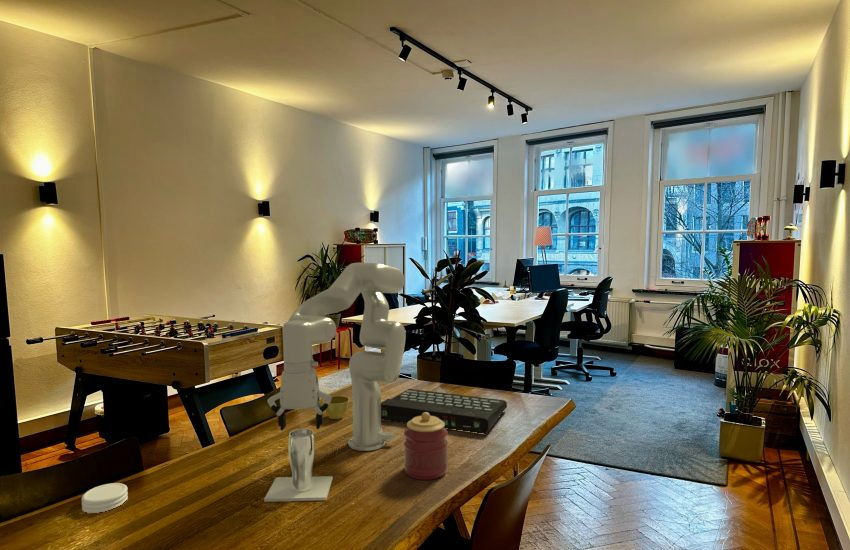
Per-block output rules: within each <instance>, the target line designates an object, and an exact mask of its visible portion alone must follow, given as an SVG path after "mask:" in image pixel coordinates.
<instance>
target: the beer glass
mask: <svg viewBox="0 0 850 550" xmlns="http://www.w3.org/2000/svg"><path fill="white" fill-rule="evenodd" d="M315 447H316V444H315V434H314V430H313V429H310V428H298V429H294V430H292V431H290V432H289V434H288V458H289V464H290V469H291V477H292V482H291V489H292V490H293V491H296V492H303V491H307V490H310V489H311V488H312V487H313V485H314V484H313V478H312V477H313V465H314V458H315V452H316V451H315V449H316V448H315Z"/></svg>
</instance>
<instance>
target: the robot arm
mask: <svg viewBox="0 0 850 550" xmlns="http://www.w3.org/2000/svg"><path fill="white" fill-rule="evenodd" d="M405 281H406V280H405V275H404V273H403V272H402V270H401V269H400V268H398V267H394V266H390V265H387V264H383V263H381V262H380V263H379V262H353V263H350V264H348V265H347V266H346V267H345V268H344V269H343V271H342V272H341V273H340V274H339V276H338V277H337V278H336V280H334V282H333V283H332V284H331V285H330V286H329V288H328V289H324V291H321V292H320V293H317V294H316V295H314V296H311V297H310V298H309V299H306V300H305V301H303V303H301V304H300V305H299V306H298V307H297V308H296V310H294V312H293V313H292V314H291V316H290V317H289V319H288V321H287V322H285V323H284V324H283V325H282V342H283V344H282V345H283V346H282V348H283V370H282V371H281V377H280V385H279V387H280V389H279V392H278V393H276V394H274V395H272V396H270V397H269V398H268V399H267V404H268V405H269V407H270V409H271V410H272V411H273V412H274V413H275V414H276V416H277V420H278V421H277V422H278V427H280V431H283V430H285V428H286V427H287V426H286V425H287V422H286V418H287V417H286V412H285V410H305V409H313V410H314V411H315V412H316V415H315V426H316V427H315V428H316V429H317V430H320V428H321V427H322V425H323V424H324V417H323V416H324V414H323V413H324V412H326V409H327V408H328V406H329V404H330V402H331V399H332V396H333V395H330V394H328V393H325V392H323V391H321V390H320V385H319V384H320V383H319V379H318V378H319V377H318V372H317V370H316V367H319V362H318V361H315V360H314V358H313V345H321V344H327V343H328V342H331V341H332V340H333V338H334V337H335V336H336V333H337V325H336V323H335V321H334V320H333V319H332V318H330V317H327V315H330V314H334V313H339V312H341V311H344V310H347V309H349V308H350V307H351V306H352V305H353V304H354V302H355V301H356V299H358V296H360V294H361V295H362V298H363V301H364V309H363V316H362V321H361V326H360V331H359V342H360V344H361V345H362V346H364V347H367V348H372V349H382V350H385V352H378V351H372V350H359V351H357V352H355V353H353V354H352V356H351V357H350V358H349V363H348V368H349V369H348V370H349V374H350V379H351V388H352V390H351V391H352V437H350V438H349V439H348V442H347V443H348V447H349V448H350V449H352V450H355V451H359V452H360V451H361V452H371V451H377V450H379V449H381V448H384V446H385V445H386V442H387V441H386V440H395V433H392V431H385V430H383V427H382V420H381V402H382V392H381V387H380V385H379V384H378V382H380V383H388V384H390V383H394V382H396V381H397V380H398V378H399V377H400V374H401V370H402V365H403V364H402V363H403V357H404V352H405V345H406V339H407V336H406V328H405V327H404V325H403V324H402V323H401V322H399V321H395V320H388V319H389V314H390V313H389V312H390V305H389V303H388V300H387V299H386V296H385V295H384V294H397V293H399V292H401V291H402V290H403V289H404V286H405V283H406V282H405ZM321 399H323V400H324V399H325V400H326V402H325V403H322V405H321V404H320V400H321ZM277 400H279V405H280V406H279V405H278V404H276V402H275V401H277Z"/></svg>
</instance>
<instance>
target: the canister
mask: <svg viewBox="0 0 850 550" xmlns="http://www.w3.org/2000/svg"><path fill="white" fill-rule="evenodd" d="M444 426H445V423H444V422H443V421H442V420H440V419H439V418H437V417H435V416H430V414H429V413H428V412H424V413H423V414H422V416H417V417H414V418H413V419H412V420H410V421H409V422H408V423H407V424H406V428H405V429H404V431H403V434H404V436H405V440H404V443H403V445H404V462H403V465H404V466H403V468H404V472H405V474H406V475H407V476H409V477H410V478H412V479H417V480H423V481H425V480H426V481H430V480H436V478H437V479H440V478H442V477H443V476H445V475H446V473H448V467H449V465H448V464H449V463H448V445H449V444H448V440H447V436H448V434H449V433H448V431H449V430H447V429H446V428H444ZM439 477H440V478H439Z"/></svg>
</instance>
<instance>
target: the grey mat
mask: <svg viewBox="0 0 850 550" xmlns="http://www.w3.org/2000/svg"><path fill="white" fill-rule="evenodd" d="M312 478H313V484H314V485H313V487H312V488H311V489H310V490H307V491H303V492H296V491H293V490H292V489H291V482H292V476H283V477H278V476H277V477H275V479H274V480H273V483H272V484H271V486H270V488H269V489H268V491H267V493H266V495H265V497H264V498H263V500H264V501H263V502H264V503H267V502H268V503H269V502H305V501H306V502H310V501H327V498H328V495H329V492H330V488H331V485H332V482H333V476H332V475H329V476H322V475H321V476H312Z"/></svg>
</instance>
